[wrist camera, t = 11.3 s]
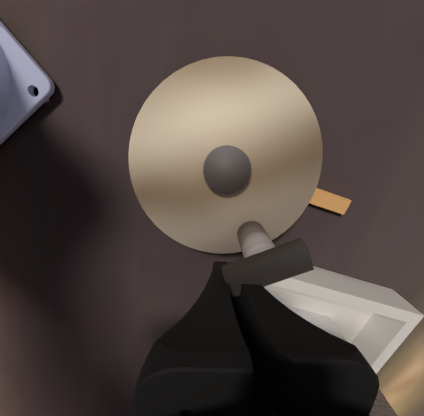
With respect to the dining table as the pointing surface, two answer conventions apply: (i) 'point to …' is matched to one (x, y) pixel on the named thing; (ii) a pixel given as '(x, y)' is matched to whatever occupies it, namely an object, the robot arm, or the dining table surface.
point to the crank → (229, 165)
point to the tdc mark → (330, 201)
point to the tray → (353, 310)
